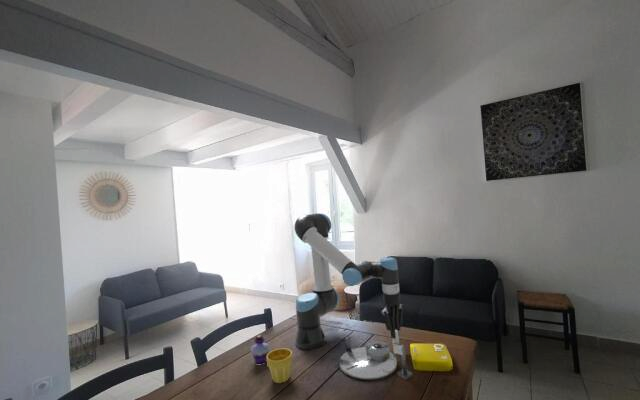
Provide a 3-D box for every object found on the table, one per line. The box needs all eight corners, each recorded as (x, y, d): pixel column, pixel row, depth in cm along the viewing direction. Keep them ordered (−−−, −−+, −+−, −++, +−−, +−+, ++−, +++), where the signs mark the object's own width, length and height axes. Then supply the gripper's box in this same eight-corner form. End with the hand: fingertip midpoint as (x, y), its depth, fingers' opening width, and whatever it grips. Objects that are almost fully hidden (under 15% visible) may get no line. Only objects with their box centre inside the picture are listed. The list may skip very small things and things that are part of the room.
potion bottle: (261, 355, 139) (259, 330, 140) (274, 360, 134) (272, 333, 135) (247, 364, 132) (245, 337, 133) (260, 369, 127) (258, 341, 128)
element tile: (410, 352, 132) (409, 341, 132) (445, 353, 128) (444, 342, 129) (413, 371, 117) (412, 359, 117) (454, 372, 114) (452, 360, 114)
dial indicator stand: (395, 373, 116) (392, 343, 116) (402, 370, 118) (399, 340, 118) (405, 379, 111) (402, 348, 111) (412, 375, 113) (409, 344, 114)
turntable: (325, 359, 130) (324, 345, 131) (366, 342, 143) (365, 329, 143) (364, 387, 108) (362, 370, 108) (409, 364, 120) (408, 349, 120)
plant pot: (289, 386, 113) (287, 361, 113) (264, 385, 115) (262, 360, 115) (297, 371, 123) (295, 348, 123) (273, 371, 125) (271, 347, 125)
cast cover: (361, 355, 129) (361, 345, 129) (378, 347, 134) (377, 338, 134) (377, 364, 120) (376, 353, 121) (394, 356, 126) (393, 345, 126)
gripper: (386, 297, 127) (391, 352, 127) (407, 290, 134) (412, 342, 134) (374, 293, 134) (379, 346, 133) (395, 287, 141) (399, 337, 140)
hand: (396, 344), depth 133 cm, fingers closed
